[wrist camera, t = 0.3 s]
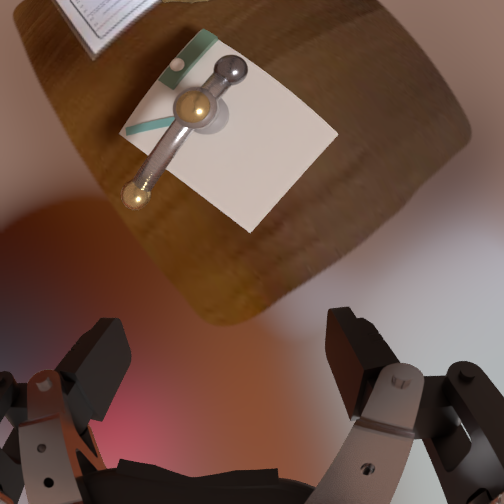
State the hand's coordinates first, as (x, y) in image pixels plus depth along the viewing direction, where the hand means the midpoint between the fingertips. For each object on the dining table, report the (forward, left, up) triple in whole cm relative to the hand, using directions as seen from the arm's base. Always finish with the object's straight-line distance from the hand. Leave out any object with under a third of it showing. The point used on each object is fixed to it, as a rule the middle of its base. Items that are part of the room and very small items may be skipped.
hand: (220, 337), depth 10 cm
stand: (-5, -6, -23) cm, 24 cm away
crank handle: (-3, -8, -18) cm, 20 cm away
